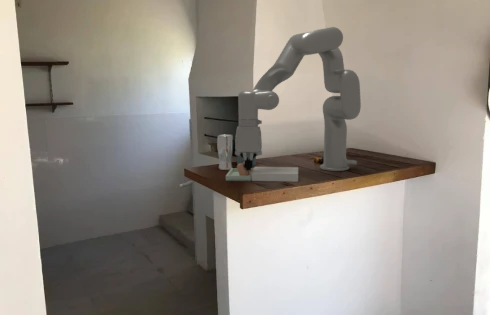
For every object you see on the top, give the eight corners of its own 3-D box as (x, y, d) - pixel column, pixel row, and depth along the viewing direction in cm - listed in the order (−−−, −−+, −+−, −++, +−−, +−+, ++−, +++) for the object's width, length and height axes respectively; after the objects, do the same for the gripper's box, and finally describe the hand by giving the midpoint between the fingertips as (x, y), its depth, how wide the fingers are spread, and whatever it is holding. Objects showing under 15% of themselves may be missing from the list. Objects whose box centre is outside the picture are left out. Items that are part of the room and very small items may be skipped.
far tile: (250, 160, 175) (244, 160, 175) (249, 163, 170) (242, 163, 170) (250, 172, 176) (244, 172, 176) (249, 175, 171) (243, 175, 171)
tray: (254, 173, 177) (254, 168, 177) (250, 181, 163) (250, 176, 162) (231, 172, 178) (231, 168, 178) (225, 180, 164) (225, 175, 163)
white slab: (298, 174, 174) (298, 167, 173) (298, 181, 161) (298, 174, 161) (254, 173, 176) (254, 166, 176) (251, 180, 163) (251, 173, 163)
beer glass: (221, 170, 183) (221, 136, 180) (215, 168, 189) (214, 134, 186) (236, 169, 186) (235, 135, 183) (229, 166, 192) (228, 133, 189)
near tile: (244, 162, 169) (238, 163, 170) (242, 164, 164) (236, 166, 165) (248, 173, 170) (242, 175, 170) (246, 176, 165) (240, 178, 165)
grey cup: (259, 166, 192) (259, 140, 190) (237, 167, 190) (237, 141, 188) (254, 162, 202) (253, 137, 200) (233, 163, 200) (233, 138, 198)
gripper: (268, 122, 166) (268, 168, 169) (230, 122, 168) (231, 167, 171) (266, 124, 159) (266, 171, 162) (227, 124, 160) (228, 171, 164)
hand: (248, 169), depth 166 cm, fingers closed
